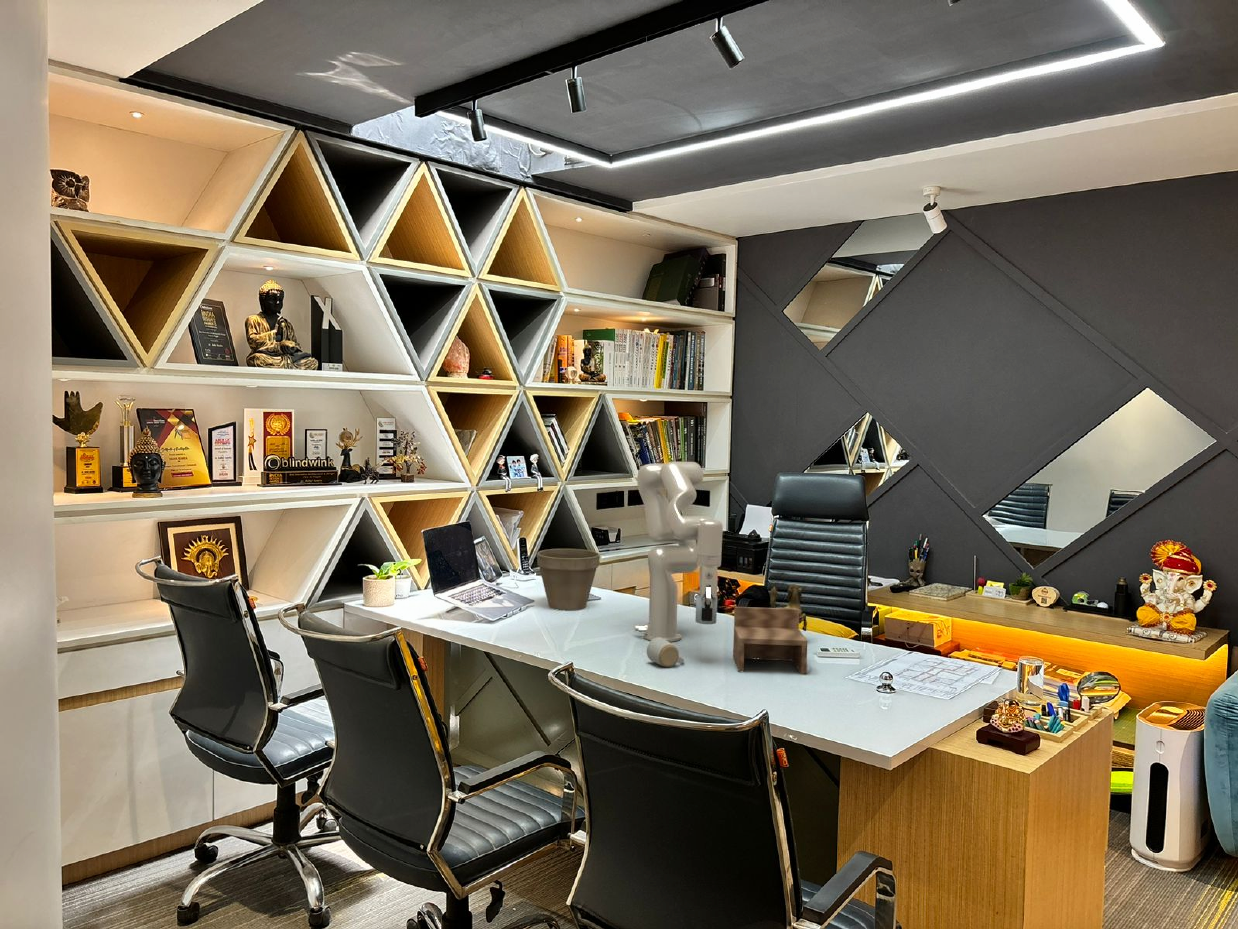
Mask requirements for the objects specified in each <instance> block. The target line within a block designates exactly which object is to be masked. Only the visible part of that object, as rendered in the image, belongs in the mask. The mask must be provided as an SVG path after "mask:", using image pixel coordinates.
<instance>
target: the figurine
mask: <svg viewBox="0 0 1238 929" xmlns="http://www.w3.org/2000/svg"><path fill="white" fill-rule="evenodd" d="M778 595H779V593H778V590H777V587H775V586H773V587H772V588H771V589H770V608H786V609H799V625H800V624H801V623H802V622H803V626H802V627H801V629H802V630H803V631H804V632H807V625H808V622H807V614H806V613H803V612H802V607H801V604H800V602H801V601H802V597H803V588H802V587H800V585H798V584H795V583H794V584H790V585H789V587H788V589H787V595H786V597H787V600H788V603H787V606H777V607H776V601H777V598H778Z"/></svg>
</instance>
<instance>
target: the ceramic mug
mask: <svg viewBox="0 0 1238 929" xmlns="http://www.w3.org/2000/svg"><path fill="white" fill-rule="evenodd" d="M679 654H680V652H679V649H678V648H677V646H676V645H675V644H673V643H672V642H668V641H667V640H665V639H664V638H661V637H657V638H654V639H652V640H651V641H650V640H649V643H648V645H647V647H646V655H647V657H648V659H649V660H650V661H651V662H653V663H655V664H657V665H660V666H661V667H664V668H670V667H673V666H674V665H675V664H680V665H683V664H684V662H685V659H684V658H683V657H681V656H680V655H679Z"/></svg>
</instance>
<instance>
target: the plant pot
mask: <svg viewBox="0 0 1238 929" xmlns="http://www.w3.org/2000/svg"><path fill="white" fill-rule="evenodd" d="M600 559H601V554H600V553H599V552H597V551H594V550H588V549H581V548H551V549H543V550H539V551H537V553H536V560H537V562H536V564H537V566H538V567H539V569H540V575H541V579H542V583H543V588H544V592H545V597H546V601H547V603H548V607H549V608H550V609H552V610H555V609H558V610H557V611H563V610H565V611H571V612H572V611H581V610H583V609H585V608H586V607H587V605H588V600H589V598H590V593H591V590H592V586H593V583H594V579H595V575H596V572H597V568H598V567H599V566H600ZM580 609H581V610H580Z"/></svg>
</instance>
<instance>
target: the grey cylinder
mask: <svg viewBox="0 0 1238 929" xmlns="http://www.w3.org/2000/svg"><path fill="white" fill-rule="evenodd" d="M704 597H706V596H704ZM695 602H696V603H695V619H694V621H695V623H697V624H700V625H715V624H716V623H717V616H718V614H717V612H718V597H717V598H716V599H715V598H713V596H712V608H713V610H712V621H702V620H701V616H702V607H703V598H701V595H700V593H699V594H696V599H695Z"/></svg>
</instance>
